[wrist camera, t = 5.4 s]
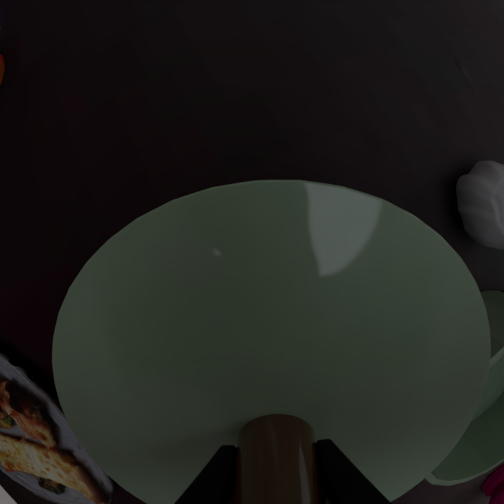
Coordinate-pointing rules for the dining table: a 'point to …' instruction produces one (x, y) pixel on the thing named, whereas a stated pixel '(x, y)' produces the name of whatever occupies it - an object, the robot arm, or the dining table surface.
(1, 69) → the paper cup
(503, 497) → the pepper mill
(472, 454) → the squat sage green cylinder
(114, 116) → the dining table surface
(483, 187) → the garlic
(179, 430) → the lid
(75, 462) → the food plate
